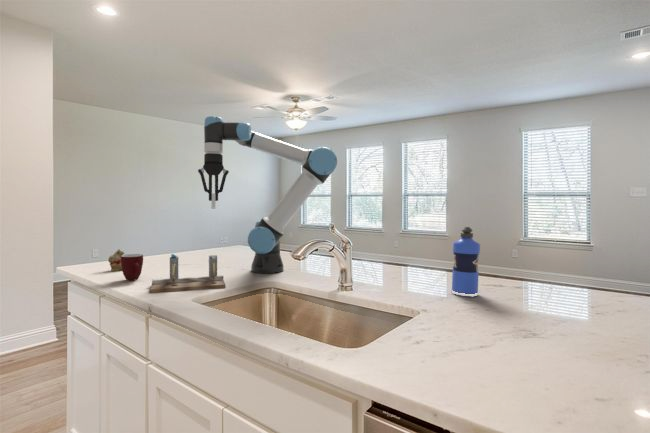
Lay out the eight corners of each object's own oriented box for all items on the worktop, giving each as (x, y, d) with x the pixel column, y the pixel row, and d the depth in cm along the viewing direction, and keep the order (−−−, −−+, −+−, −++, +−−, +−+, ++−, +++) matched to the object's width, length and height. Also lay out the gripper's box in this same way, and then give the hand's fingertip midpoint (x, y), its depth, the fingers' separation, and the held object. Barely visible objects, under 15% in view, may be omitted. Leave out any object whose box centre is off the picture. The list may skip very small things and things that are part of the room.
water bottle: (478, 292, 137) (481, 226, 136) (477, 298, 129) (480, 228, 128) (452, 289, 141) (454, 225, 140) (450, 295, 133) (452, 227, 131)
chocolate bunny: (113, 269, 169) (113, 247, 169) (130, 268, 170) (130, 247, 170) (107, 271, 164) (107, 249, 163) (125, 271, 165) (125, 249, 164)
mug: (150, 280, 148) (150, 256, 147) (129, 283, 141) (129, 258, 141) (137, 276, 154) (137, 253, 154) (117, 279, 148) (117, 255, 147)
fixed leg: (216, 274, 147) (216, 255, 147) (218, 278, 140) (218, 258, 139) (208, 275, 146) (208, 255, 146) (209, 279, 139) (210, 258, 138)
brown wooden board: (222, 280, 149) (222, 274, 149) (225, 287, 138) (225, 280, 138) (153, 285, 140) (153, 278, 140) (150, 292, 129) (150, 285, 129)
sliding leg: (178, 276, 142) (178, 253, 141) (177, 281, 135) (177, 256, 134) (170, 277, 141) (170, 253, 140) (169, 281, 134) (169, 257, 133)
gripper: (228, 155, 162) (227, 208, 163) (197, 153, 157) (197, 208, 158) (230, 153, 155) (229, 208, 156) (197, 151, 150) (197, 208, 151)
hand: (213, 208), depth 157 cm, fingers closed
